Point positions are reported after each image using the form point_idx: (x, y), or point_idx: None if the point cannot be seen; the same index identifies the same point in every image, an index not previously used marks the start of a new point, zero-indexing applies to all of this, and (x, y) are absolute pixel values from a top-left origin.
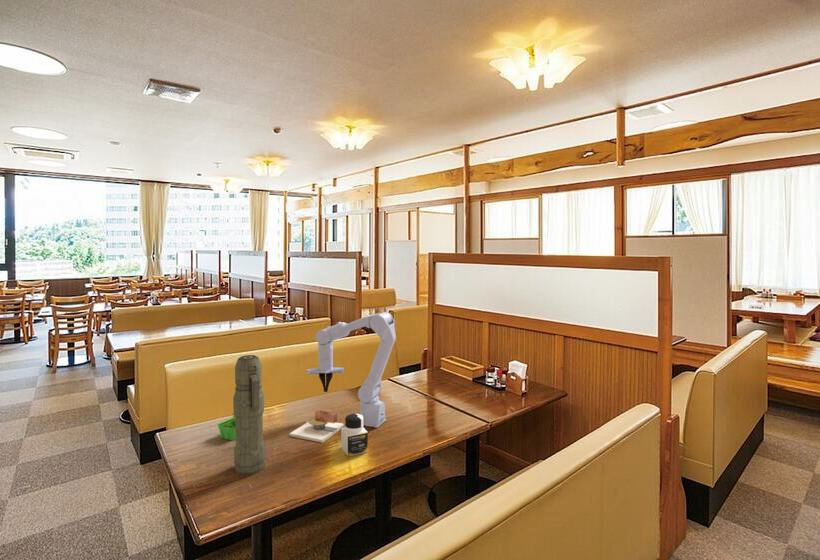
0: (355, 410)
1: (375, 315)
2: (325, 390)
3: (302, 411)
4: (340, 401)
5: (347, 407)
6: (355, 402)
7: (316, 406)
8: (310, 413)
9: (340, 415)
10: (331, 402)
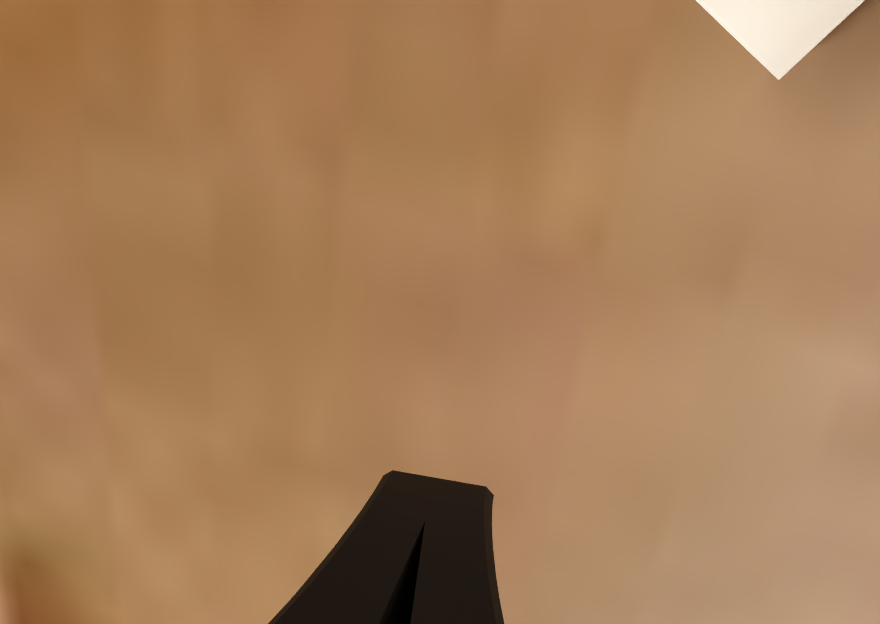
0: (46, 279)
1: None
2: (440, 504)
3: (827, 501)
4: (257, 608)
5: (165, 415)
6: (69, 522)
7: (583, 582)
8: (730, 396)
9: (269, 164)
10: None
